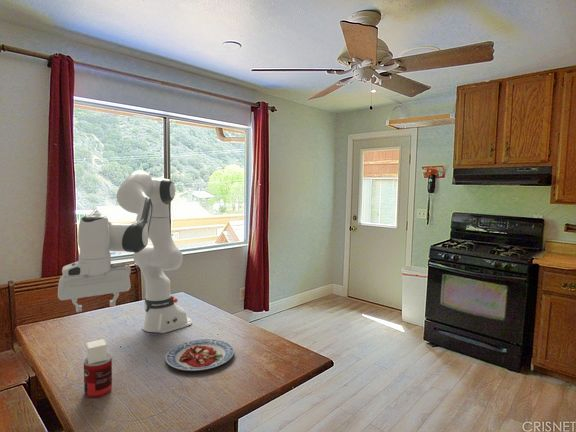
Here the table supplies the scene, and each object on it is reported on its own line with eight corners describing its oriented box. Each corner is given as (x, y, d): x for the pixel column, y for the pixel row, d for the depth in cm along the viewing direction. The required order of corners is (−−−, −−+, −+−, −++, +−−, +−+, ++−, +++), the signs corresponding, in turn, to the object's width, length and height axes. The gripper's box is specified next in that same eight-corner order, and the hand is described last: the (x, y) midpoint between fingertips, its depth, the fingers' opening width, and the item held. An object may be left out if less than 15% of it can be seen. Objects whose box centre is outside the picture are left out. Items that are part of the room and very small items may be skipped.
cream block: (104, 353, 113) (104, 339, 113) (106, 359, 109) (106, 344, 109) (86, 357, 111) (86, 342, 110) (88, 364, 106) (88, 348, 106)
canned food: (91, 385, 114) (90, 353, 114) (116, 384, 115) (115, 352, 114) (79, 399, 107) (78, 364, 106) (106, 398, 108) (105, 363, 107)
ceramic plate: (150, 367, 128) (150, 359, 127) (193, 340, 152) (193, 333, 151) (208, 382, 118) (208, 373, 118) (245, 350, 142) (245, 343, 142)
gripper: (128, 260, 118) (129, 300, 119) (56, 267, 106) (58, 311, 107) (132, 264, 113) (133, 305, 114) (57, 271, 101) (59, 318, 102)
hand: (96, 308), depth 110 cm, fingers open, 8 cm apart
